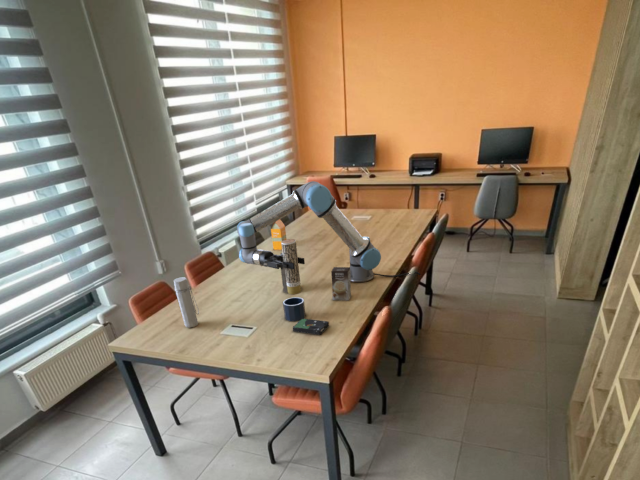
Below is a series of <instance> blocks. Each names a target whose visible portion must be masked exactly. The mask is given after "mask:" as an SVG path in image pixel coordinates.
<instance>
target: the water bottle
mask: <svg viewBox="0 0 640 480" xmlns="http://www.w3.org/2000/svg"><path fill="white" fill-rule="evenodd" d="M173 285H174V291H175V295H176V298H177V301H178V305H179V309H180V312H181V316H182V320H183V324H184V326H185V328H190V329H191V328H194V327H197V326H198V324H199V321H198V318H197V317H198V316H197V315H200V310H199V306H198V304H197V301H196V300H195V296H194V294H193V291H192V286H190V285H189V282H188V279H187V277H185V276H182V277H176V278H175V279H173ZM195 305H196V306H195ZM196 308H197V309H196Z"/></svg>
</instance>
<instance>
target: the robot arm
mask: <svg viewBox="0 0 640 480" xmlns="http://www.w3.org/2000/svg"><path fill="white" fill-rule="evenodd" d="M336 203H337V200H336V198H335V197H334V196H333V195H332V194H331V191H330V189H329V188H328V187H327V186H325V185H324V184H322V183H320V182H318V181H315V180H314V181H309V182H306V183H304V184H303V185H301V186H299V187H298V188H296V189H294V190H293V191H292V194H290V195H287V196H286V197H285V198H283V199H281V200H280V201H278V202H277V203H275V204H273V205H271V206H269V207H267V208H266V209H264V210H263V211H261V212H259V213H257V214H255V215H254V216H251V218H249V219H247V220H242V221H239V223H238V224H237V226H236V231H237V234H238V236H239V239H240V244H241V249H239V252H238V253H239V254H238V258H239V260H240V261H241V262H242V263H244V264H247V265H256V266H260V267H265V268H271V269H274V270H279V269H280V271H281V270H282V269H283V268H288V269H295V267H294V263H289V262H284V259H283V252H280V254H275V253H274V252H273V251H270V250H264V249H258V248H257V241H256V234H257V233H259V232H260V231H262V230H264V229H265V228H268V227H269V226H271V225H273V224H274V222H276V221H278V220H279V219H280V220H281V219H283V218H285V217H287V216H289V215H290V214H292V213H294V212H296V211H298V210H304V209H305V208H307V207H308V208H309V209H310V210H311V211H312V212H313V213H314V214H315V216H316V217H317V218H318V219H323V220H324V221H325V222H326V223H327V224H328V226H329V227H330V228H331V229H332V230H333V232H335V233H336V235H337V236H338V237H339V238H340V240H341V241H342V242H343V243H344V244H345V246H346V247H347V248H348V252H349V267H350V280H351V283H354V284H360V283H367V282H369V281H372V280H373V279H374V277H375V276H379V277H387V278H396V277H397V278H399V277H403V276H406V275H407V276H409V275H410V274H409V273H410V272H406V273H402V274H401V273H400V274H380V273H375V272H374V271H373V270H375V269H376V268H377V267H378V266H379V264H380V263H381V260H382V254H381V251H380V250H379V248H376V247H375V246H374V244H373V243H372V242H371V238H370V237H369V236H362V235H361V233H360V232H359V231H358V230H357V228H356V227H355V226H353V224H352V223H351V221H350V220H349V219H348V218H347V217H346V216H345V214H344V213H343V212H342V211H341V210H340V209H339V207H338V206H337V204H336ZM297 257H298V256H297ZM282 262H283V263H282ZM299 264H300V265H305V264H306V262H305V258H304V257H298V265H299ZM414 272H415V273H414V274H416V275H419V276H422V274H421V273H420V272H418V271H414ZM408 274H409V275H408ZM414 274H413V275H414Z"/></svg>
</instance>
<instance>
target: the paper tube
mask: <svg viewBox="0 0 640 480" xmlns="http://www.w3.org/2000/svg"><path fill="white" fill-rule="evenodd" d="M286 239H287V240H283V241H282V242H281V244H282V250H281V251H282V252H281V253H283V259H284V262H289V263H294V267H295V269H288V268H285V275H286V283H287V290H288V293H287V294H289V295H298V294H300V293H301V292H302V285H301V284H300V283H301V276H300V266H299V263H298V248H297V240H296V239H295V238H286Z"/></svg>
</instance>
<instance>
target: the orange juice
mask: <svg viewBox="0 0 640 480" xmlns="http://www.w3.org/2000/svg"><path fill="white" fill-rule="evenodd" d="M270 234H271V242H272V248H273V251H274V250H275V251H276V250H277V251H278V250H279V251H282V244H281V242H282V241H283V240H287V239H288V238H287V232H286V225H285V223H284V222H283V221H282V220H281V219H279V220H278V221H276V222H274V223H272V226H271V228H270Z"/></svg>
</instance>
